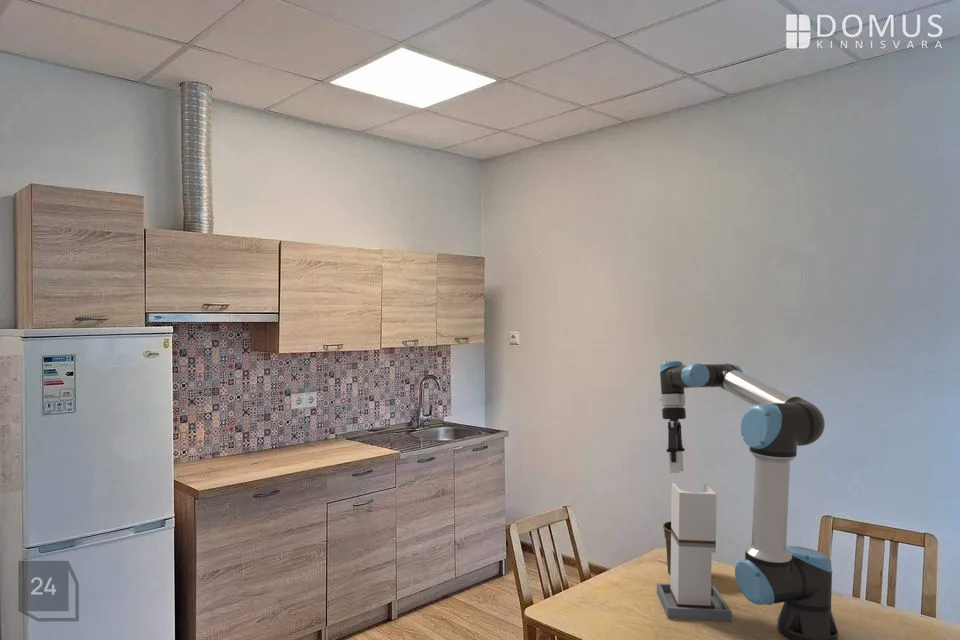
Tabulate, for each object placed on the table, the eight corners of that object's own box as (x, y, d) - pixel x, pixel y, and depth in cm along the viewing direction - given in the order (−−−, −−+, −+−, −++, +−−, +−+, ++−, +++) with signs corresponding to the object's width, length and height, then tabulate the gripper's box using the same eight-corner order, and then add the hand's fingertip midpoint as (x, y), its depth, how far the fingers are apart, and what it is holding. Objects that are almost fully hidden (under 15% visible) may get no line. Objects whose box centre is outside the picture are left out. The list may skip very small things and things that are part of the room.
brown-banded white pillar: (714, 613, 192) (716, 494, 192) (677, 611, 193) (679, 492, 193) (705, 596, 203) (706, 484, 203) (670, 594, 204) (671, 483, 204)
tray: (714, 595, 206) (714, 586, 206) (731, 621, 188) (731, 611, 188) (656, 592, 207) (656, 583, 207) (667, 618, 189) (667, 608, 189)
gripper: (666, 408, 232) (669, 469, 228) (656, 406, 209) (660, 473, 206) (688, 408, 229) (692, 470, 225) (681, 405, 206) (685, 474, 203)
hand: (677, 472), depth 215 cm, fingers open, 13 cm apart
